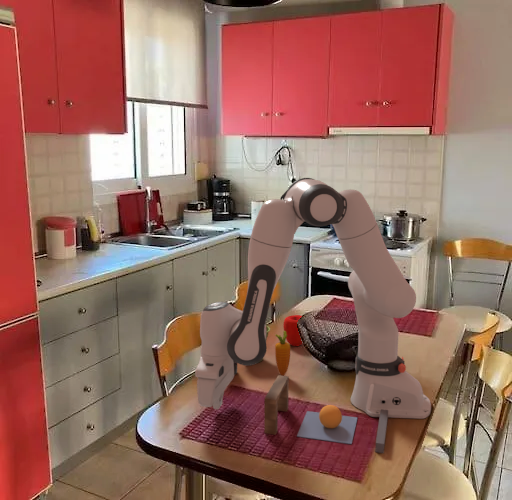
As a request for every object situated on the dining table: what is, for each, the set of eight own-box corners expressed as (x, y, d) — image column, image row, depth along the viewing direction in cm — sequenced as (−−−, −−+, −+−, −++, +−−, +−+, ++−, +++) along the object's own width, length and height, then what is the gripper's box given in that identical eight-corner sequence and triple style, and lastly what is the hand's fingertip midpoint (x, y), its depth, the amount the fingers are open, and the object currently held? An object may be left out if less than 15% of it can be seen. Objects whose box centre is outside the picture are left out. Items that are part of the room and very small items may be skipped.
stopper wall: (387, 418, 159) (388, 410, 158) (383, 453, 142) (384, 443, 141) (380, 417, 159) (380, 409, 159) (375, 452, 142) (375, 442, 142)
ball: (346, 406, 155) (324, 397, 156) (343, 416, 149) (321, 407, 151) (339, 425, 157) (318, 416, 158) (336, 436, 151) (314, 427, 152)
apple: (291, 338, 219) (291, 310, 217) (311, 343, 214) (312, 315, 212) (278, 345, 212) (278, 317, 210) (299, 350, 207) (299, 321, 205)
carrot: (279, 381, 182) (279, 335, 179) (271, 375, 187) (272, 330, 184) (293, 378, 185) (293, 333, 181) (285, 372, 189) (285, 328, 186)
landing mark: (357, 418, 159) (357, 417, 159) (351, 444, 146) (351, 443, 146) (307, 411, 163) (307, 410, 163) (296, 436, 149) (296, 435, 149)
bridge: (288, 408, 165) (288, 376, 163) (275, 434, 150) (275, 400, 148) (278, 407, 165) (278, 375, 163) (264, 433, 151) (264, 398, 149)
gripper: (218, 345, 170) (219, 389, 173) (192, 373, 151) (193, 422, 153) (239, 347, 168) (239, 392, 171) (215, 376, 149) (216, 425, 152)
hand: (217, 406), depth 162 cm, fingers closed
